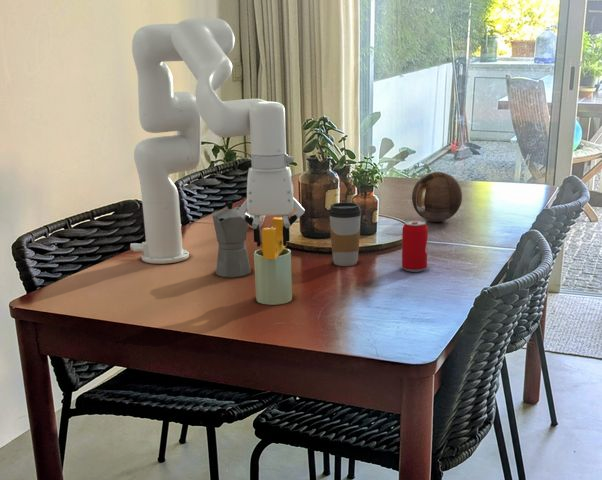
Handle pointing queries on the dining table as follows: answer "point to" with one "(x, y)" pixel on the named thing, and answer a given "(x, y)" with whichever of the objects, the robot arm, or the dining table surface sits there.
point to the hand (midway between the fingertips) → (272, 244)
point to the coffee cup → (345, 232)
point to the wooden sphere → (437, 196)
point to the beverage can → (414, 245)
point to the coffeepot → (231, 242)
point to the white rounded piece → (259, 220)
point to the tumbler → (273, 278)
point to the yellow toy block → (273, 239)
